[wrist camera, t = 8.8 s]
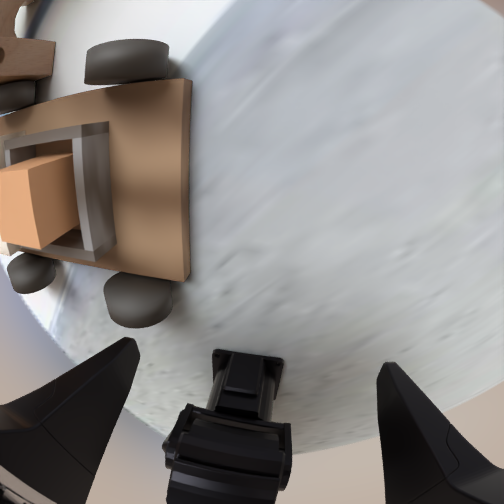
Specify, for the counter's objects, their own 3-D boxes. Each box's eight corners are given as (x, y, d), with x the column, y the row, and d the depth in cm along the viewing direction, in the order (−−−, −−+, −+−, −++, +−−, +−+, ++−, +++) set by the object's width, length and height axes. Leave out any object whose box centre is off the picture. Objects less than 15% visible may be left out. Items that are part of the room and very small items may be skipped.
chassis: (191, 295, 23) (167, 340, 18) (30, 262, 25) (-2, 287, 20) (194, 50, 15) (158, 29, 10) (10, 94, 17) (-31, 101, 12)
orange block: (92, 215, 19) (41, 249, 14) (51, 212, 20) (1, 241, 14) (87, 150, 17) (27, 169, 12) (44, 154, 18) (-11, 173, 12)
